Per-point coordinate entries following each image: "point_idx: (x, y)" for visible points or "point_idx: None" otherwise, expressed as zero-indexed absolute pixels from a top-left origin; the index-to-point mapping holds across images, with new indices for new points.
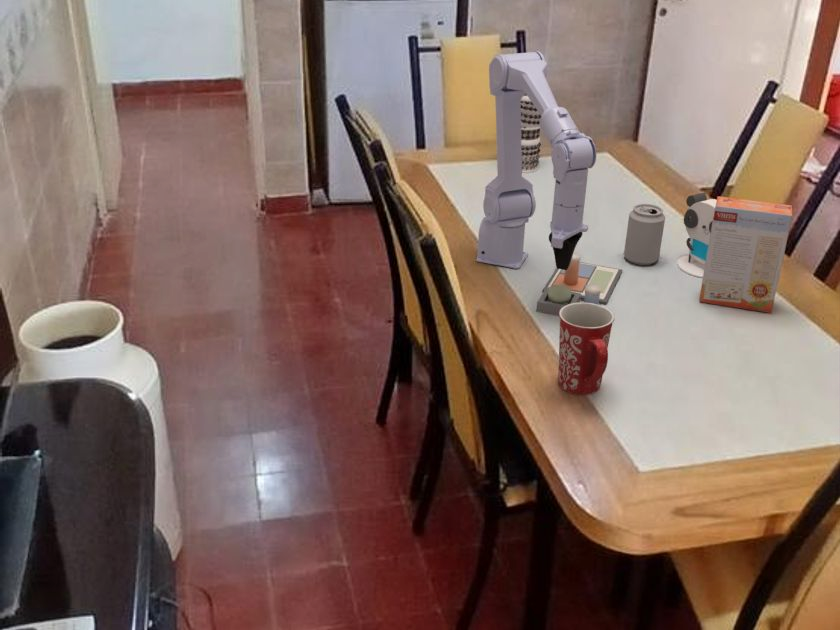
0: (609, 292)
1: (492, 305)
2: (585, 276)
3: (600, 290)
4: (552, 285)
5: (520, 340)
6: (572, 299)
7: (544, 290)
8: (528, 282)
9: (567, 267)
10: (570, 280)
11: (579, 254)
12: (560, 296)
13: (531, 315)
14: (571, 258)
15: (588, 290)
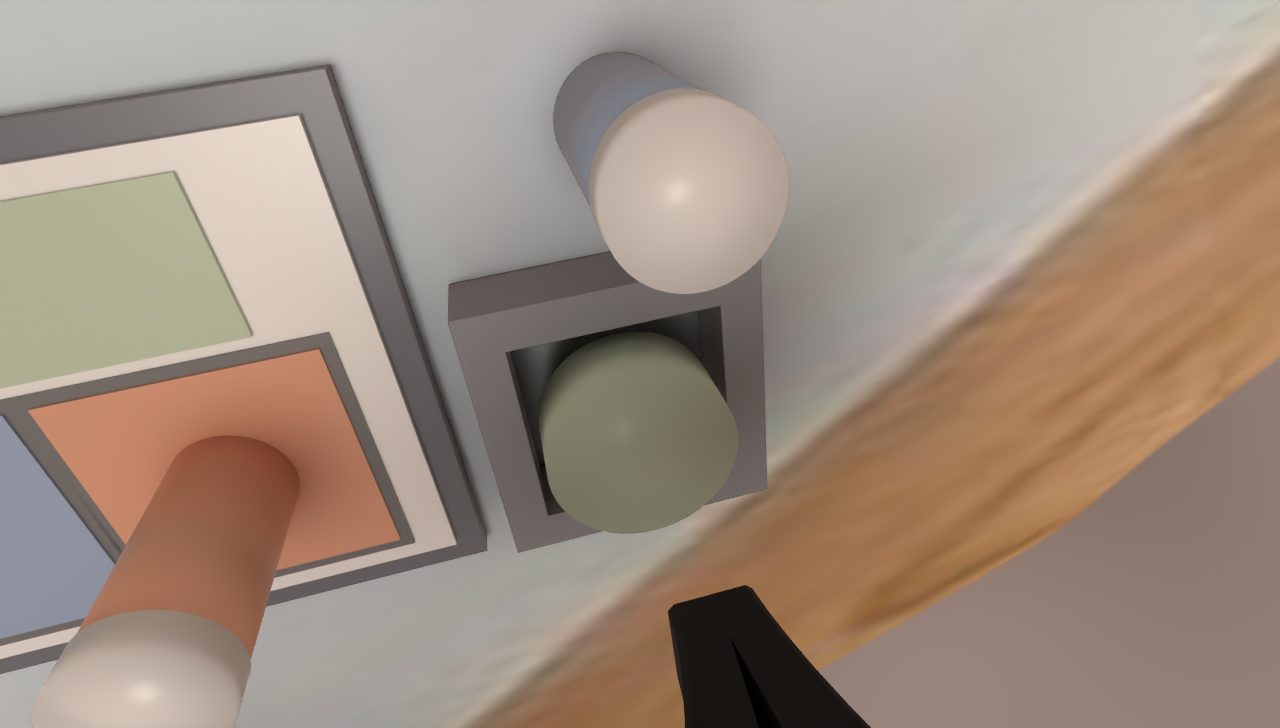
0: (79, 127)
1: (782, 617)
2: (5, 450)
3: (677, 97)
4: (392, 541)
5: (1097, 347)
6: (602, 328)
7: (582, 535)
8: (410, 646)
9: (764, 609)
10: (282, 492)
11: (44, 697)
12: (727, 407)
13: (804, 439)
14: (716, 706)
15: (778, 220)
